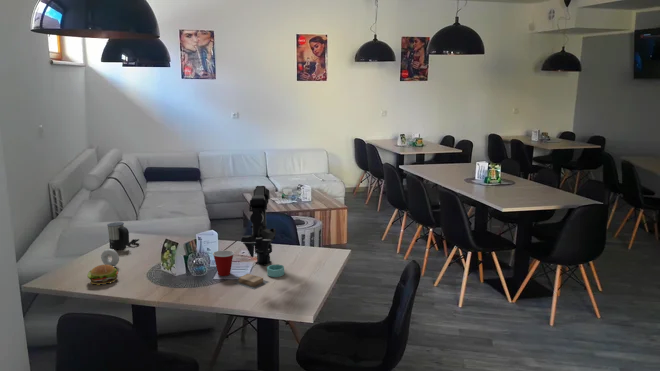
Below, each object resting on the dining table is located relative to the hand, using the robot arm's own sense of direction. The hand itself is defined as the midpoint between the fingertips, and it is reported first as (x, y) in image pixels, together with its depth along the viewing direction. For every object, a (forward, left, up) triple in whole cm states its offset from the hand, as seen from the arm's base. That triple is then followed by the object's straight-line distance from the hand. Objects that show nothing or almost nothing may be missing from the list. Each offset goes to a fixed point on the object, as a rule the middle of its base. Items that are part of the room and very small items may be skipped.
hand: (258, 255), depth 237 cm
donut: (-81, -26, -14) cm, 87 cm away
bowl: (0, +13, -14) cm, 19 cm away
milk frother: (-106, -1, -14) cm, 107 cm away
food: (-66, -40, -14) cm, 79 cm away
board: (-3, -2, -13) cm, 14 cm away
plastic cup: (-22, -1, -14) cm, 26 cm away
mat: (-3, -2, -14) cm, 15 cm away
